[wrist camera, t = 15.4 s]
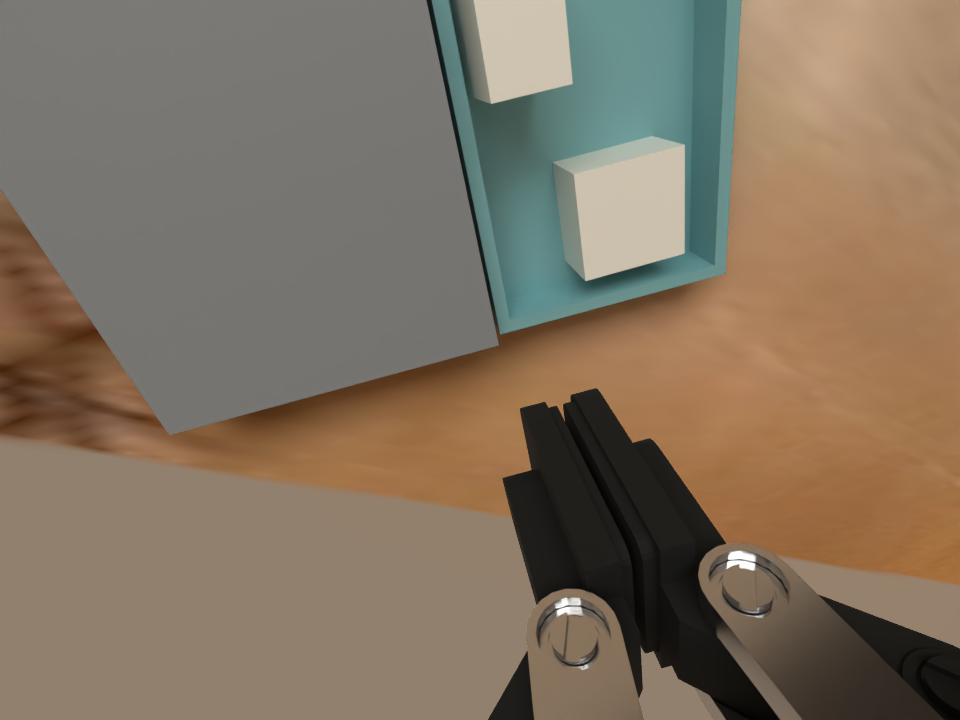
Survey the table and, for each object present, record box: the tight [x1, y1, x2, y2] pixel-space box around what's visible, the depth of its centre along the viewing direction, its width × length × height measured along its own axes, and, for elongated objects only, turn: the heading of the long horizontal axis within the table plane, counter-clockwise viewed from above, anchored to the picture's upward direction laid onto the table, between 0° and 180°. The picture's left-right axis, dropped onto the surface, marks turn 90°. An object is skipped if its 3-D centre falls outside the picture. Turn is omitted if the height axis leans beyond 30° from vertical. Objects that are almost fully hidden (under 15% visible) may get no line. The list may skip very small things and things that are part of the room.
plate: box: [0, 0, 499, 435], centre depth 21 cm, size 16×18×4 cm
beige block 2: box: [552, 136, 685, 281], centre depth 24 cm, size 5×5×3 cm
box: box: [426, 0, 741, 335], centre depth 23 cm, size 12×18×3 cm, turn 11°
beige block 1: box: [450, 0, 573, 104], centre depth 19 cm, size 5×5×3 cm
